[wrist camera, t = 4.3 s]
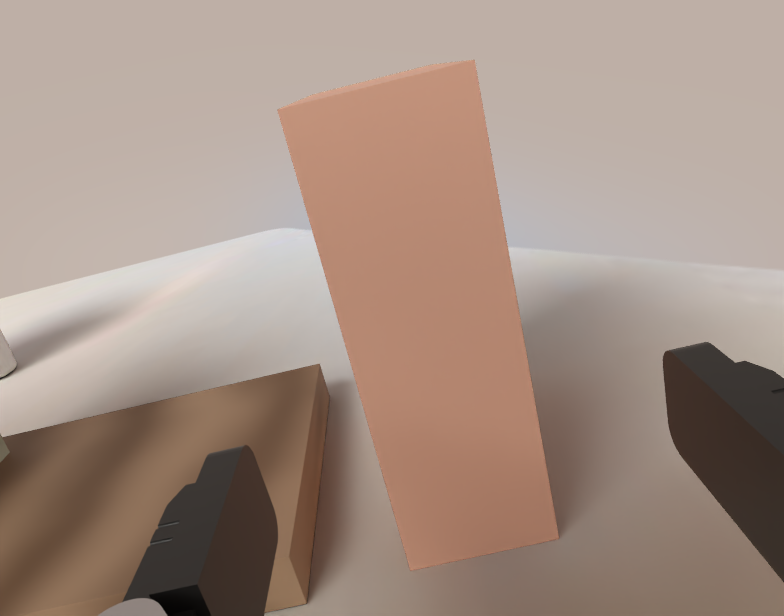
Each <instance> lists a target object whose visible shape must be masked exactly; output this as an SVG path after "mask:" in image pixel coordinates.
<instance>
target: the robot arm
mask: <svg viewBox="0 0 784 616" xmlns="http://www.w3.org/2000/svg"><path fill="white" fill-rule="evenodd" d="M663 371H664V382H665V393H666V404H667V415H668V425H669V430H670V433H671V437H672V439H673V442H674V444H675V447H676V449H677V450H678V452H679V454H680V455H681V457H682V458H683V459H684V460H685V462H686V463H687V464H688V465H689V467H690V468H691V469H692V470H693V471H694V473H695V474H696V475H697V476H698V478H699V479H700V480H701V481H702V482H703V484H704V485H705V486H706V487H707V489H708V490H709V491H710V492H711V494H712V495H713V496H714V497H715V498H716V500H717V501H718V502H719V503H720V505H721V506H722V507H723V508H724V509H725V511H726V512H727V513H728V514H729V516H730V517H731V518H732V519H733V521H734V522H735V523H736V524H737V525H738V527H739V528H740V529H741V530H742V532H743V533H744V534H745V535H746V536H747V538H748V539H749V540H750V541H751V543H752V544H753V545H754V546H755V548H756V549H757V550H758V551H759V552H760V554H761V555H762V556H763V557H764V559H765V560H766V561H767V562H768V563H769V565H770V566H771V567H772V568H773V570H774V571H775V572H776V573H777V575H778V576H779V577H780V578H781V579H782V581H783V582H784V378H782V377H781V376H780V375H778V374H777V373H776V372H774V371H772V370H769V369H766V368H764V367H761V366H758V365H755V364H752V363H750V362H747V361H742V362H737V363H735V362H733V361H732V360H731V359H730V358H728V357H727V356H726V355H725V354H723V353H722V352H721V351H720V350H718V349H717V348H716V347H715V346H713V345H712V344H710V343H708V342H704V343H700V344H695V345H691V346H686V347H682V348H677V349H673V350H669V351H666V352H665V353H664V356H663ZM277 544H278V525H277V518H276V514H275V510H274V507H273V504H272V502H271V499H270V496H269V493H268V491H267V488H266V485H265V483H264V480H263V477H262V475H261V472H260V469H259V466H258V464H257V461H256V458H255V456H254V453H253V451H252V450H251V448H250V447H249V446H248V445H244V446H239V447H235V448H231V449H226V450H222V451H217V452H213V453H209V454H208V455H207V457H206V459H205V461H204V463H203V466H202V468H201V471H200V473H199V475H198V478H197V480H196V483H192V484H188V485H185V486H184V487H183V488H182V489H181V490H180V491H179V493H178V494H177V495H176V496H175V497H174V498H173V499H172V500H171V501H170V502H169V503H168V504H167V506H166V508H165V510H164V513H163V515H162V517H161V519H160V521H159V523H158V529H156V530H155V532H154V534H153V536H152V539H151V541H150V546H148V547H147V549H146V552H145V554H144V556H143V558H142V560H141V562H140V565H139V567H138V569H137V571H136V573H135V575H134V578H133V580H132V582H131V584H130V586H129V588H128V591H127V593H126V595H125V597H124V599H123V601H122V603H119V604H117V605H115V606H113V607H110V608H109V609H107V610H105V611H104V612H102V613H101V614H99V615H98V616H264V612H265V607H266V602H267V597H268V591H269V586H270V581H271V575H272V570H273V565H274V560H275V554H276V549H277Z"/></svg>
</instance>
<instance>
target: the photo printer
mask: <svg viewBox="0 0 784 616" xmlns="http://www.w3.org/2000/svg"><path fill="white" fill-rule="evenodd" d="M16 365H17V363H16V360H15V358H14V356H13V353H12V351H11V349H10V347H9V345H8V343H7V341H6V339H5V337H4V335H3V333H2V332H1V330H0V377H3V376H5V375H7V374H9V373H10V372H11V371H12V370H14V369H15V367H16Z"/></svg>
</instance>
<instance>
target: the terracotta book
mask: <svg viewBox="0 0 784 616" xmlns="http://www.w3.org/2000/svg"><path fill="white" fill-rule="evenodd" d="M278 114H279V117H280V120H281V124H282V127H283V131H284V134H285V137H286V141H287V145H288V148H289V152H290V155H291V159H292V162H293V165H294V169H295V172H296V176H297V179H298V183H299V186H300V189H301V193H302V197H303V200H304V203H305V207H306V210H307V214H308V217H309V221H310V224H311V228H312V231H313V235H314V238H315V242H316V245H317V249H318V252H319V256H320V259H321V263H322V266H323V269H324V273H325V276H326V280H327V283H328V287H329V290H330V294H331V297H332V301H333V304H334V308H335V311H336V314H337V318H338V321H339V325H340V328H341V332H342V335H343V339H344V342H345V346H346V349H347V353H348V356H349V360H350V363H351V366H352V370H353V373H354V377H355V380H356V384H357V387H358V391H359V394H360V398H361V401H362V405H363V408H364V411H365V415H366V418H367V422H368V425H369V429H370V432H371V436H372V439H373V443H374V446H375V450H376V453H377V457H378V460H379V463H380V467H381V470H382V474H383V477H384V481H385V484H386V488H387V491H388V495H389V498H390V502H391V505H392V508H393V512H394V515H395V519H396V522H397V526H398V529H399V533H400V536H401V540H402V543H403V547H404V550H405V554H406V557H407V560H408V564H409V567H410V571H413V570H417V569H422V568H426V567H431V566H436V565H440V564H445V563H450V562H454V561H459V560H464V559H468V558H473V557H477V556H482V555H487V554H491V553H496V552H501V551H505V550H510V549H515V548H519V547H524V546H529V545H533V544H538V543H542V542H547V541H552V540H556V539H559V535H558V529H557V523H556V518H555V512H554V506H553V501H552V495H551V489H550V484H549V478H548V472H547V467H546V461H545V455H544V450H543V444H542V438H541V433H540V427H539V421H538V416H537V410H536V404H535V399H534V393H533V387H532V382H531V376H530V370H529V365H528V359H527V353H526V348H525V342H524V336H523V331H522V325H521V319H520V314H519V308H518V302H517V297H516V291H515V285H514V280H513V274H512V268H511V263H510V257H509V251H508V246H507V241H506V234H505V229H504V223H503V217H502V212H501V206H500V200H499V195H498V189H497V184H496V178H495V172H494V166H493V161H492V155H491V151H490V150H491V149H490V144H489V138H488V133H487V127H486V122H485V116H484V110H483V104H482V99H481V93H480V88H479V82H478V76H477V70H476V65H475V60H468V61H459V62H450V63H442V64H432V65H428V66H424V67H420V68H416V69H412V70H408V71H404V72H400V73H396V74H392V75H388V76H385V77H381V78H377V79H372V80H368V81H365V82H361V83H356V84H352V85H349V86H345V87H341V88H337V89H333V90H329V91H325V92H321V93H317V94H313V95H310V96H308V97H306V98H303V99H301V100H299V101H296V102H294V103H292V104H289V105H287V106H285V107H282V108H280V109H278Z"/></svg>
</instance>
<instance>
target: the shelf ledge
mask: <svg viewBox="0 0 784 616" xmlns="http://www.w3.org/2000/svg"><path fill="white" fill-rule="evenodd" d="M329 398H330V396H329V393H328V389H327V386H326V383H325V380H324V376H323V373H322V370H321V367H320V364H316V365H312V366H308V367H303V368H299V369H295V370H290V371H286V372H282V373H278V374H273V375H269V376H265V377H260V378H256V379H252V380H247V381H243V382H239V383H235V384H230V385H226V386H222V387H217V388H213V389H209V390H204V391H200V392H196V393H191V394H187V395H183V396H179V397H174V398H170V399H166V400H161V401H157V402H153V403H148V404H144V405H140V406H136V407H131V408H127V409H123V410H118V411H114V412H110V413H105V414H101V415H97V416H93V417H88V418H84V419H80V420H75V421H71V422H67V423H62V424H58V425H54V426H50V427H45V428H41V429H37V430H32V431H28V432H24V433H19V434H15V435H11V436H7V437H2V436H1V435H0V616H98V615H99V614H101V613H102V612H104V611H105V610H107V609H109V608H110V607H113V606H115V605H117V604H119V603H122V601H123V599H124V597H125V595H126V593H127V591H128V588H129V586H130V584H131V582H132V580H133V578H134V575H135V573H136V571H137V569H138V567H139V565H140V562H141V560H142V558H143V556H144V554H145V552H146V549H147V547H148V546H150V541H151V539H152V536H153V534H154V532H155V530H156V529H158V523H159V521H160V519H161V517H162V515H163V513H164V510H165V508H166V506H167V504H168V503H169V502H170V501H171V500H172V499H173V498H174V497H175V496H176V495H177V494H178V493H179V491H180V490H181V489H182V488H183V487H184V486H185V485H188V484H192V483H196V480H197V478H198V475H199V473H200V471H201V468H202V466H203V463H204V461H205V459H206V457H207V455H208V454H209V453H213V452H217V451H222V450H226V449H231V448H235V447H239V446H244V445H248V446H249V447H250V448H251V450H252V451H253V453H254V456H255V458H256V461H257V464H258V466H259V469H260V472H261V475H262V477H263V480H264V483H265V485H266V488H267V491H268V493H269V496H270V499H271V502H272V504H273V507H274V510H275V514H276V518H277V525H278V544H277V549H276V554H275V560H274V565H273V570H272V575H271V581H270V586H269V591H268V597H267V602H266V607H265V612H264V613H266V612H270V611H275V610H280V609H284V608H289V607H293V606H298V605H303V604H307V596H308V587H309V578H310V569H311V560H312V551H313V542H314V533H315V524H316V515H317V506H318V497H319V488H320V479H321V470H322V461H323V452H324V443H325V434H326V425H327V416H328V407H329Z"/></svg>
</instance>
